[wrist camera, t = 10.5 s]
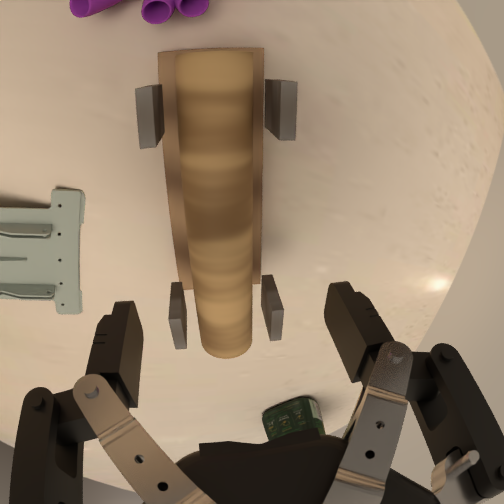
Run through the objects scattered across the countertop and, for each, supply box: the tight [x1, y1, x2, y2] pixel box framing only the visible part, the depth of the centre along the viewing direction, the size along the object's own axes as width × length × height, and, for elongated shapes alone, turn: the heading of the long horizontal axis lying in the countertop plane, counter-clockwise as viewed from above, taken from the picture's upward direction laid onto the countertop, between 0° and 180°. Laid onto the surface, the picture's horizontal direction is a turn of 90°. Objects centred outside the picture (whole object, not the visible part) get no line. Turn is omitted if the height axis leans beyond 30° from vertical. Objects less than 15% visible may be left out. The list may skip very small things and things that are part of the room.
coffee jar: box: [262, 398, 325, 441], centre depth 42 cm, size 10×8×19 cm
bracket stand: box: [135, 48, 297, 349], centre depth 22 cm, size 22×8×11 cm, turn 0°
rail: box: [175, 51, 253, 359], centre depth 19 cm, size 20×4×4 cm, turn 0°
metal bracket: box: [0, 189, 85, 314], centre depth 27 cm, size 14×6×15 cm
